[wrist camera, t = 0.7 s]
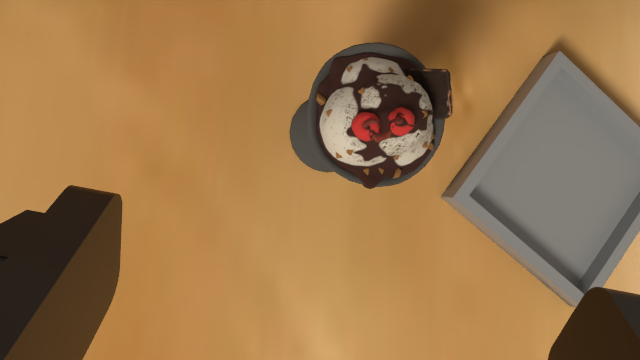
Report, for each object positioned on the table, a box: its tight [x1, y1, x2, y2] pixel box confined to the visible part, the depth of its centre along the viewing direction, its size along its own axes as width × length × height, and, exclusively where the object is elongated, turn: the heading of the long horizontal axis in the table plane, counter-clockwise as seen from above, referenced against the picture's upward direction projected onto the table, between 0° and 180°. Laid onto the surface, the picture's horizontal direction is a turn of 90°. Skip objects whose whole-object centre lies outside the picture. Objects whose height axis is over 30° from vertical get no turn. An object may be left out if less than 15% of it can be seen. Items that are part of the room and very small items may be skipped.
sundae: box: [290, 43, 452, 189], centre depth 27 cm, size 7×7×15 cm
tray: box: [441, 51, 640, 307], centre depth 37 cm, size 13×13×2 cm
